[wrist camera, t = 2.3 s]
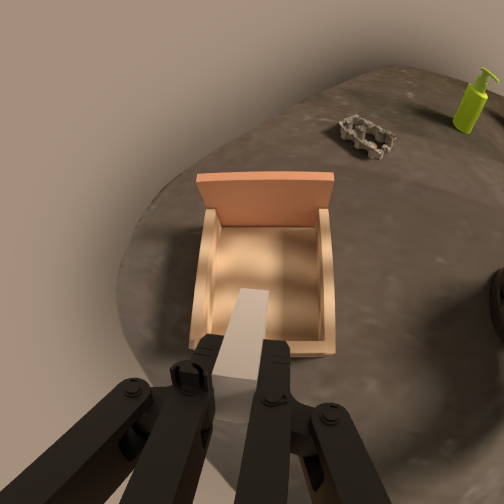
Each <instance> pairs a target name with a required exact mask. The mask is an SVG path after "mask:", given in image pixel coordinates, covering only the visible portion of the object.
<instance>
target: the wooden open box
mask: <svg viewBox="0 0 504 504" xmlns="http://www.w3.org/2000/svg"><path fill="white" fill-rule="evenodd" d="M241 288H246V289H258V290H269V297H268V310H267V322H266V333H265V339H269V340H281V341H286V342H287V344H288V346H289V347H290V357H326V356H329V355H332V354H335V299H334V277H333V260H332V246H331V234H330V223H329V213H328V209H319V211H318V216H317V221H316V225H315V228H287V227H221V224H220V221H219V219H218V216H217V213H216V211H215V209H206V213H205V219H204V226H203V232H202V239H201V246H200V253H199V261H198V268H197V276H196V284H195V292H194V301H193V310H192V319H191V329H190V340H189V349H193V350H195V349H196V347H197V345H198V342H199V340H200V339H201V338H202V337H203V336H205V335H206V334H207V333H209V334H216V335H224V336H225V333H226V330H227V327H228V324H229V321H230V318H231V315H232V313H233V310H234V307H235V304H236V301H237V298H238V295H239V292H240V289H241Z"/></svg>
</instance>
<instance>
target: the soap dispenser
mask: <svg viewBox="0 0 504 504" xmlns="http://www.w3.org/2000/svg"><path fill="white" fill-rule="evenodd" d="M481 70H482V71H483V72H482V75H481V77H479V76H478V77H477V78H476V80H475V83H474V85H473V84H468V87H467V89H466V92H465V94H464V96H463V99H462V101H461V103H460V105H459V108H458V110H457V112H456V114H455V116H454V119H453V124H454V126H455V127H456V128H457V129H458V130H460V131H461V132H463V133H465V134H470V132H471V130H472V128H473V126H474V124H475V123H476V121H477V119H478V117H479V115H480V113H481V111H482V109H483V107H484V105H485V103H486V101H487V98H488V96H487V95H486V93H485V91H486V89H487V86H488V83H487V81H486V80H487V77H488V75H490V76H491V77H492V78H493V79H494V80H495V81H496V82H500V81H499V80H498V78H497V77H496V76H495V75H494V74H492V73H491V72H490V71H488V70H487V69H485V68H484V67H481Z"/></svg>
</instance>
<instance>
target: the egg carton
mask: <svg viewBox="0 0 504 504" xmlns="http://www.w3.org/2000/svg"><path fill="white" fill-rule="evenodd" d="M339 123H340V125H341V129H340V133H341V134H342V135H341V138H342V139H344V140H346V139H350V140H352V141H353V142H354V143H355V145H354V147H355V148H357V149H365V150H367V152H368V153H369V154H368V157H369V158H371V159H373V158H376V159H379V160H380V159H381V158H382V157H383V154H384V151H385V152H390V150H391V147H392V145H393V143H392V142H393V141H394V140H395V139H396V138H397V136H396V135H395V134H394V133H393V132H391V131H390V130H388V129H386V128H385V129H382V128H381V127H380V126H377V125H375V124H373V123H372V122H370V121H368V120H364V119H363V118H360V117H359V116H358V115H356V114H355V115H354V116H350V117H348V118H346V119H344V120H343V121H340V122H339ZM352 125H355V130H351V129H352ZM358 125H359V126H358ZM365 133H367V134H372V135H374V136H375V139H376V141H378V142H380V143H386V144H385V145H383V146H382V148H381V149H377V145H376V144H375V143H374V142H367V141H366V140H365V139H364V137H365ZM361 140H362V141H361ZM375 149H376V150H375Z"/></svg>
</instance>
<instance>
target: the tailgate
mask: <svg viewBox="0 0 504 504" xmlns="http://www.w3.org/2000/svg"><path fill="white" fill-rule="evenodd" d="M196 183H197V186H198V188H199V190H200V193H201V195H202V198H203V200H204V203H205V205H206V208H207V209H215V211H216V213H217V216H218V219H219V221H220V224H221V227H287V228H315V225H316V221H317V216H318V211H319V209H328V205H329V201H330V197H331V192H332V188H333V184H334V175H333V173H328V172H229V173H208V174H198V175H197V179H196Z"/></svg>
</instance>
